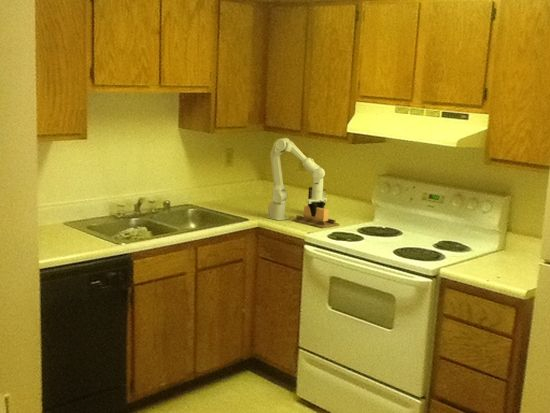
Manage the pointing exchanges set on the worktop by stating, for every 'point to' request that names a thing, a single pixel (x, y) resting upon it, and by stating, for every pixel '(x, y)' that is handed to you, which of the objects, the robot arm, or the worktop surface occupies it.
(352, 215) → the worktop surface
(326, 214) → the orange rectangular block
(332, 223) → the drying rack
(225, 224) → the worktop surface
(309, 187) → the coffee box
